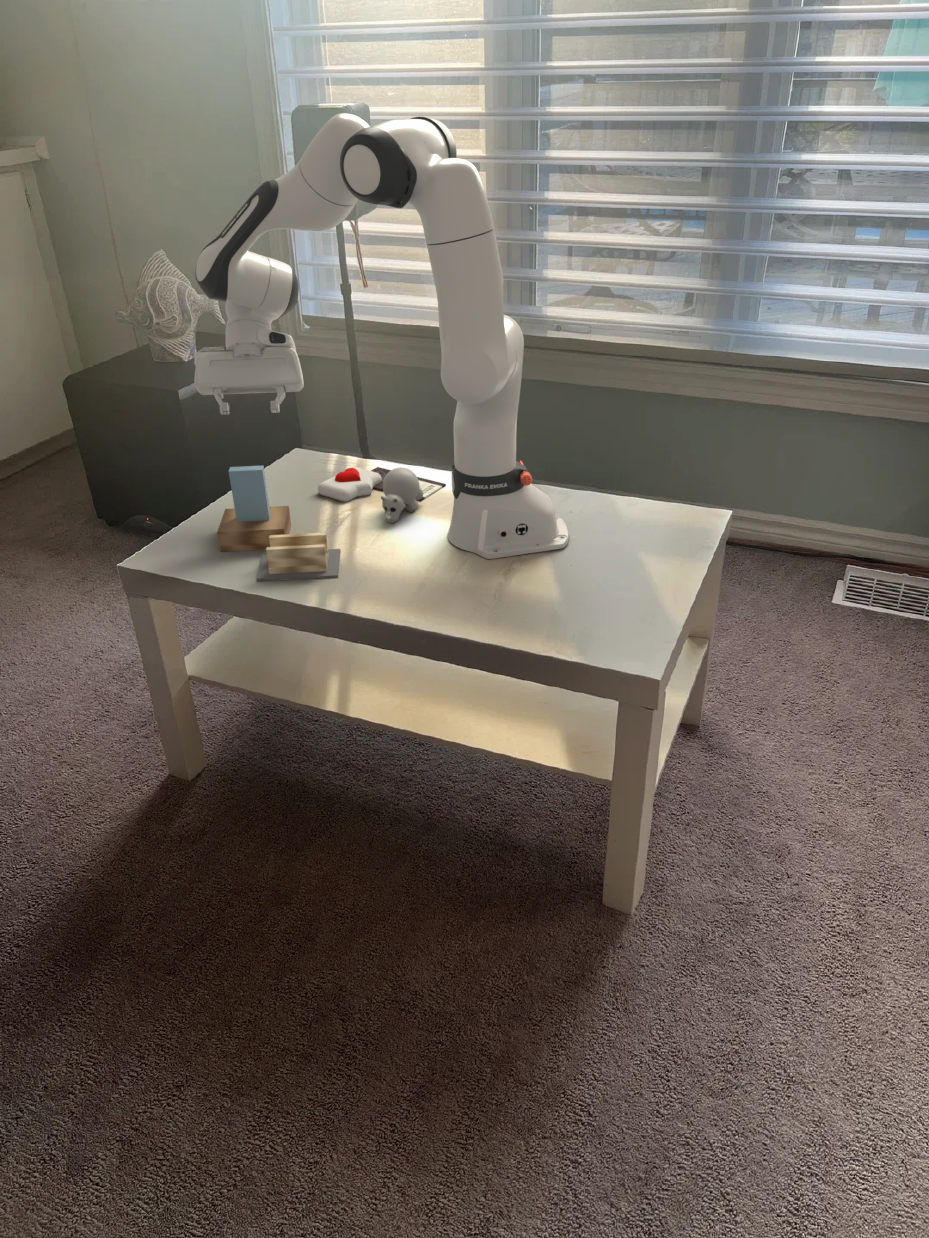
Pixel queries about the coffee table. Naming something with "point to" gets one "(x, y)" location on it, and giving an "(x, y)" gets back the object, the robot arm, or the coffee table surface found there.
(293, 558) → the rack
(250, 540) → the block
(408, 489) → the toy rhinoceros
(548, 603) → the coffee table surface
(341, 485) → the icon
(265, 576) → the mat
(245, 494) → the pale blue rectangular prism
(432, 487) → the chocolate bar
